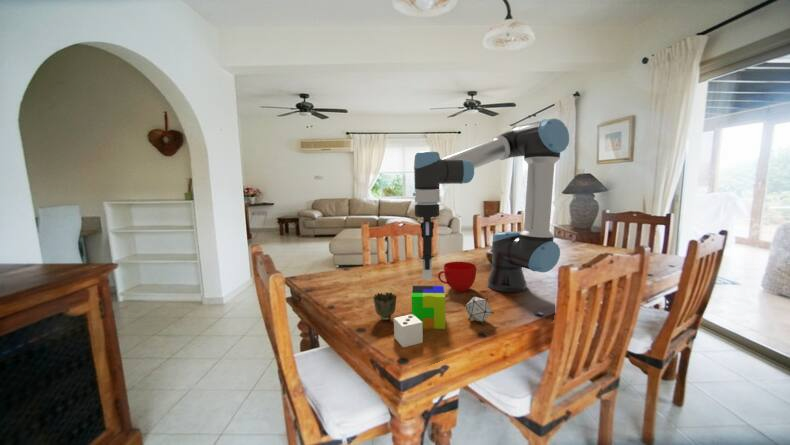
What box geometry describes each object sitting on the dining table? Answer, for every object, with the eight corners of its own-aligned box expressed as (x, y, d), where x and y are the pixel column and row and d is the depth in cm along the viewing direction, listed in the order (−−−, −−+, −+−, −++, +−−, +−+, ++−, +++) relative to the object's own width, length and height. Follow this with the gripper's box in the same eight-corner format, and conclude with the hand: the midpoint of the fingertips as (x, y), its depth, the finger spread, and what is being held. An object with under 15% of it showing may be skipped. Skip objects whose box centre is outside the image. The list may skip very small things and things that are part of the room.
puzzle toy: (443, 314, 103) (443, 286, 101) (445, 328, 93) (445, 297, 92) (413, 314, 104) (412, 285, 102) (412, 328, 94) (411, 296, 93)
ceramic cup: (429, 288, 128) (429, 265, 127) (462, 282, 135) (463, 260, 134) (447, 298, 116) (447, 273, 115) (482, 291, 123) (483, 267, 122)
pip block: (413, 333, 91) (412, 313, 90) (422, 342, 85) (422, 321, 84) (394, 337, 88) (393, 317, 88) (402, 347, 83) (402, 326, 82)
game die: (477, 335, 96) (467, 317, 91) (465, 315, 103) (454, 297, 98) (502, 320, 96) (493, 301, 90) (488, 301, 103) (479, 283, 98)
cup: (396, 314, 104) (396, 291, 103) (397, 324, 96) (396, 299, 95) (374, 315, 104) (373, 292, 103) (373, 325, 96) (373, 300, 95)
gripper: (415, 202, 100) (415, 272, 103) (414, 205, 87) (414, 285, 90) (438, 202, 100) (438, 272, 102) (440, 204, 87) (440, 285, 90)
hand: (427, 278), depth 96 cm, fingers closed
